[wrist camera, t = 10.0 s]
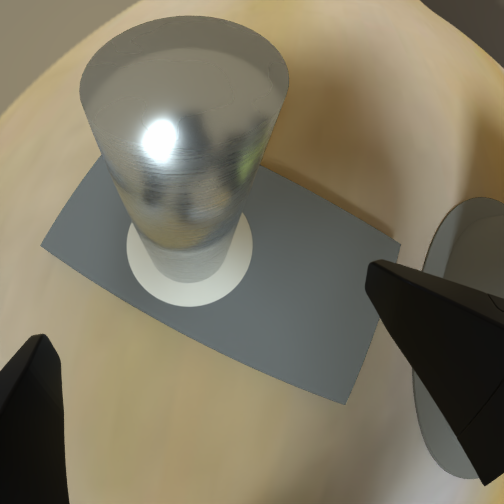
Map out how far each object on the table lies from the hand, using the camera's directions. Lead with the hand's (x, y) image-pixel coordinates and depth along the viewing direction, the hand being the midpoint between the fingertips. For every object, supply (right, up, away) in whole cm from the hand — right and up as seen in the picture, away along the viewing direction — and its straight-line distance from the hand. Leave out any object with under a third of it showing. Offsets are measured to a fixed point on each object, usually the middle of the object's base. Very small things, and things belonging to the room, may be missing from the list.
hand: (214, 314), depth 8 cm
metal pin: (-3, +2, +9) cm, 10 cm away
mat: (-1, +2, +11) cm, 11 cm away
